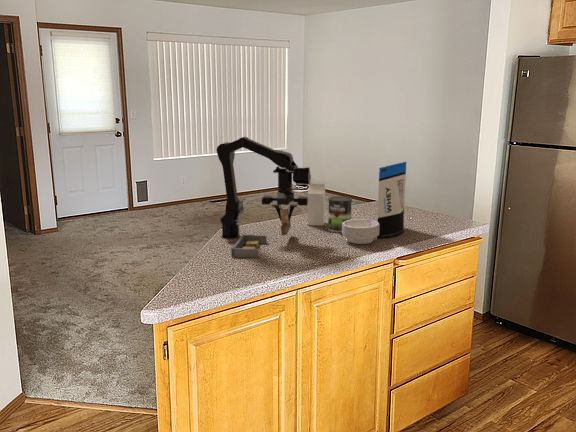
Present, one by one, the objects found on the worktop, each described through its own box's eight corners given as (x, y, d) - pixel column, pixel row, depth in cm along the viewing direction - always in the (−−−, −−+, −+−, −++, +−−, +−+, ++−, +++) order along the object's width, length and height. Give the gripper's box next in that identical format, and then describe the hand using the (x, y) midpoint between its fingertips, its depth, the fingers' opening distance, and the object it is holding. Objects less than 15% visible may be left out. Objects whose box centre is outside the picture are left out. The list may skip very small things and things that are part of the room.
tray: (231, 256, 199) (231, 248, 198) (242, 241, 218) (242, 234, 217) (257, 257, 198) (257, 249, 197) (266, 242, 217) (266, 235, 216)
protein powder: (412, 229, 236) (416, 162, 229) (387, 241, 218) (390, 169, 211) (393, 226, 242) (396, 160, 235) (366, 237, 223) (369, 166, 216)
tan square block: (245, 248, 210) (245, 243, 210) (247, 245, 214) (247, 240, 214) (256, 248, 210) (256, 244, 209) (258, 245, 214) (258, 240, 213)
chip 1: (241, 254, 202) (241, 249, 201) (243, 251, 206) (243, 246, 206) (252, 255, 201) (252, 250, 201) (255, 251, 206) (254, 246, 205)
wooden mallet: (280, 235, 214) (278, 212, 212) (285, 226, 228) (282, 205, 226) (287, 234, 214) (285, 211, 212) (291, 226, 227) (289, 204, 225)
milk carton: (322, 226, 243) (323, 185, 238) (307, 225, 244) (307, 184, 240) (325, 222, 249) (325, 182, 245) (310, 221, 251) (310, 182, 246)
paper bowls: (335, 238, 222) (335, 220, 220) (366, 234, 228) (366, 216, 226) (353, 248, 208) (354, 229, 206) (386, 244, 214) (387, 225, 212)
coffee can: (347, 233, 230) (348, 201, 227) (324, 231, 234) (325, 199, 231) (353, 227, 239) (354, 197, 236) (332, 225, 243) (332, 195, 240)
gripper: (259, 186, 210) (259, 224, 213) (306, 187, 208) (305, 226, 211) (263, 181, 221) (264, 218, 224) (308, 182, 218) (308, 219, 222)
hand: (285, 220), depth 220 cm, fingers closed on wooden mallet, 3 cm apart
